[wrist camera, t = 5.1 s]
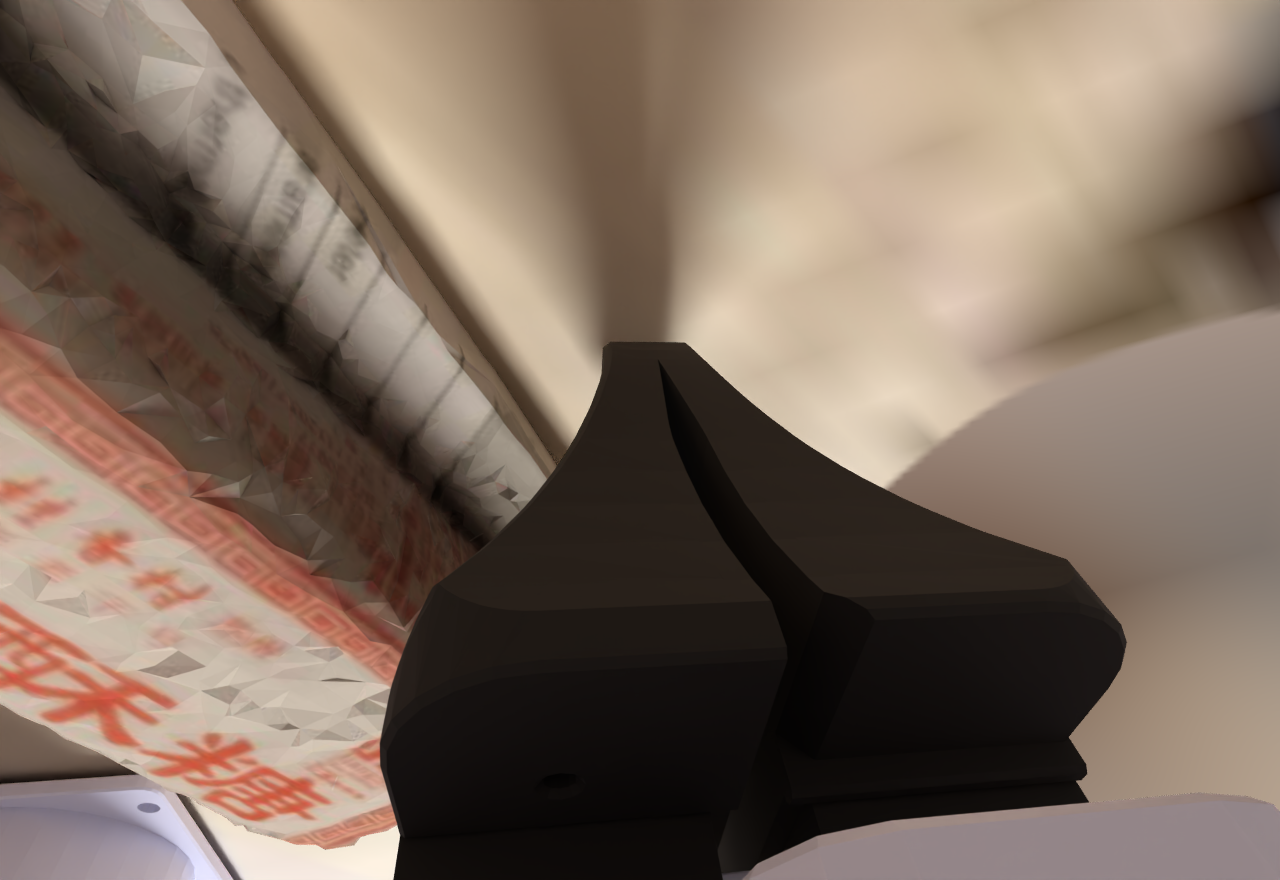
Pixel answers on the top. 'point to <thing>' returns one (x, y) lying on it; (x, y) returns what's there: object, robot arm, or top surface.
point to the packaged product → (220, 420)
